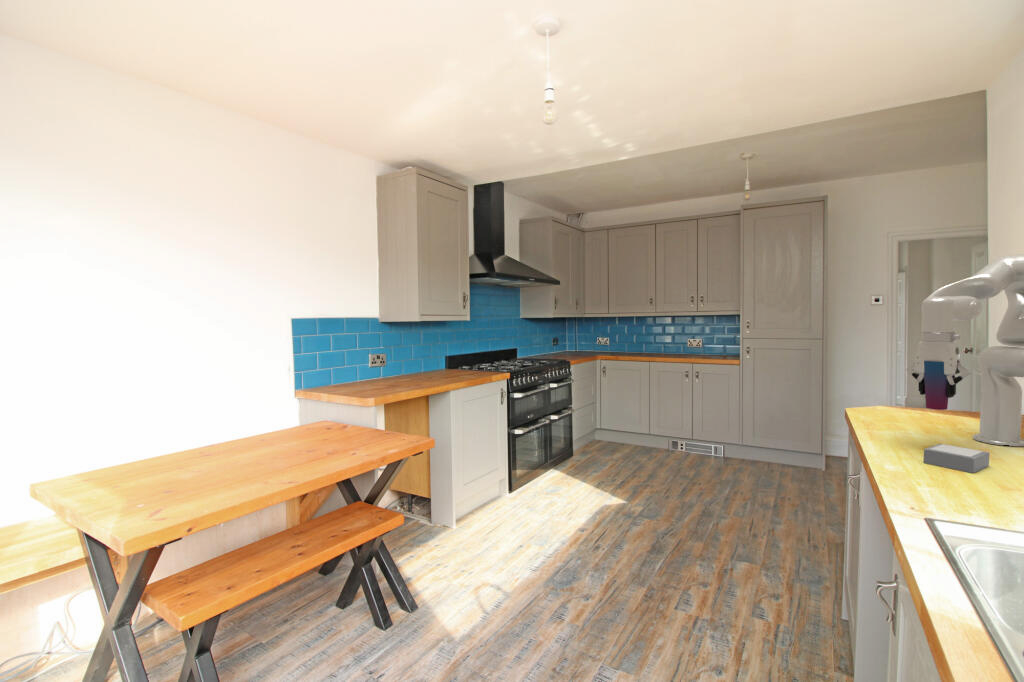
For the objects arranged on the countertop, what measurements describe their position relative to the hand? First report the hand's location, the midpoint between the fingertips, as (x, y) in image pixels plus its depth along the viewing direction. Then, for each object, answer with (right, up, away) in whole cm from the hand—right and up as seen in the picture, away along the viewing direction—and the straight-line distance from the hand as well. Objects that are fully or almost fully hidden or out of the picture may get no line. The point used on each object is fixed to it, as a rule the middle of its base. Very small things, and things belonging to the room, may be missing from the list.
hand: (936, 395), depth 152 cm
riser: (-5, -18, -12) cm, 23 cm away
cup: (0, -4, 0) cm, 4 cm away
